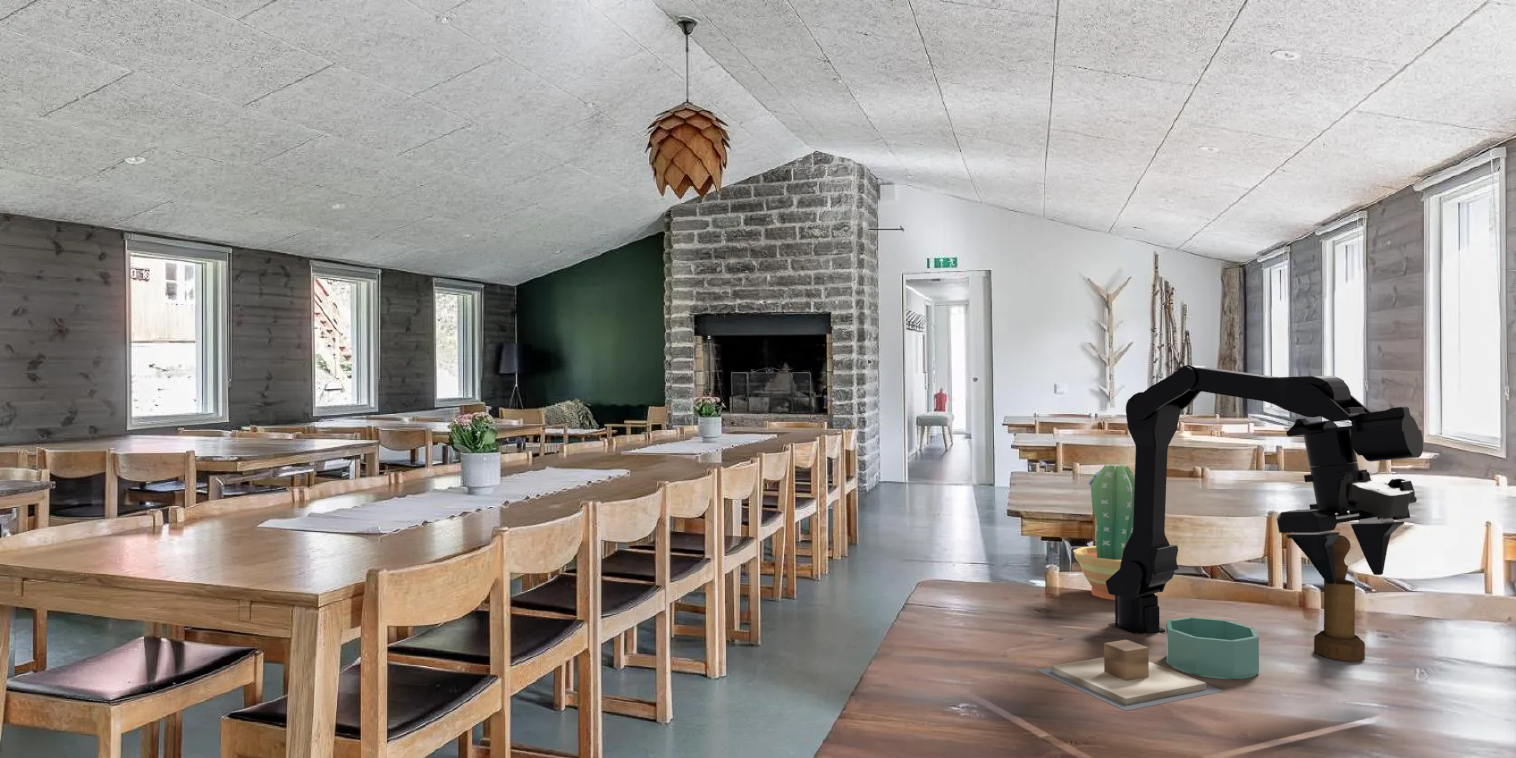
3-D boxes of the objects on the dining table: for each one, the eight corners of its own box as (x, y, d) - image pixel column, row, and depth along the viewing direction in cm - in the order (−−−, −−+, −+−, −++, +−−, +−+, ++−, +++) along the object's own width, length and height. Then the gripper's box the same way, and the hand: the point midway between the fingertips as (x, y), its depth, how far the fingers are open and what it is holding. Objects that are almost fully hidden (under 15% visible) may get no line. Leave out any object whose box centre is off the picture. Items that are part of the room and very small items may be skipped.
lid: (1051, 671, 128) (1050, 637, 128) (1126, 658, 133) (1126, 626, 133) (1125, 704, 115) (1125, 667, 115) (1206, 689, 120) (1206, 653, 120)
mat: (1035, 674, 128) (1035, 669, 128) (1126, 658, 135) (1126, 654, 135) (1125, 715, 113) (1125, 710, 113) (1224, 695, 119) (1224, 691, 119)
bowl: (1147, 663, 133) (1147, 622, 133) (1206, 653, 138) (1206, 613, 138) (1216, 689, 122) (1216, 645, 122) (1278, 677, 127) (1278, 634, 127)
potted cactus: (1160, 589, 177) (1159, 462, 177) (1158, 608, 163) (1157, 470, 163) (1077, 582, 184) (1076, 460, 184) (1069, 599, 170) (1068, 467, 170)
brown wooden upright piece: (1373, 662, 132) (1372, 540, 132) (1324, 660, 133) (1323, 539, 133) (1353, 648, 139) (1352, 532, 139) (1306, 646, 140) (1306, 531, 140)
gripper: (1341, 466, 114) (1365, 592, 112) (1438, 454, 121) (1462, 572, 119) (1265, 472, 124) (1285, 587, 122) (1358, 461, 131) (1379, 569, 129)
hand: (1355, 579), depth 123 cm, fingers open, 9 cm apart
